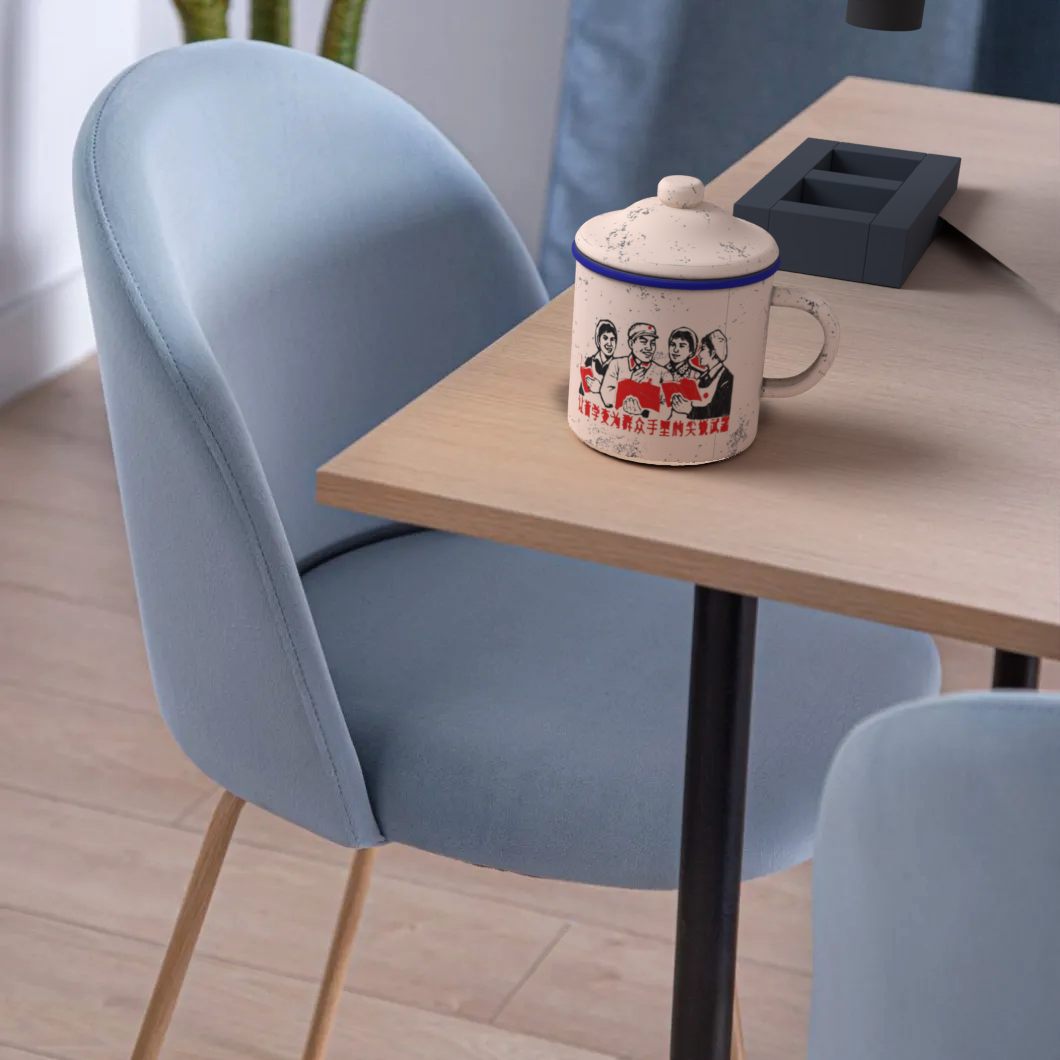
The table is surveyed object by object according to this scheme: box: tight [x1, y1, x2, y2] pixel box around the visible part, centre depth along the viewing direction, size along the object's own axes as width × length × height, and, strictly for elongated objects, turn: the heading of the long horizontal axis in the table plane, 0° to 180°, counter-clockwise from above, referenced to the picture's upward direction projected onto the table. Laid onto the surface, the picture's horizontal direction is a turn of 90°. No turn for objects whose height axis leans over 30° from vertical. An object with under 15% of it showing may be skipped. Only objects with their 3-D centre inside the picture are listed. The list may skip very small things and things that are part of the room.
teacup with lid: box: [567, 174, 841, 463], centre depth 78 cm, size 12×9×12 cm
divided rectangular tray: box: [732, 136, 962, 289], centre depth 109 cm, size 10×18×4 cm, turn 158°
